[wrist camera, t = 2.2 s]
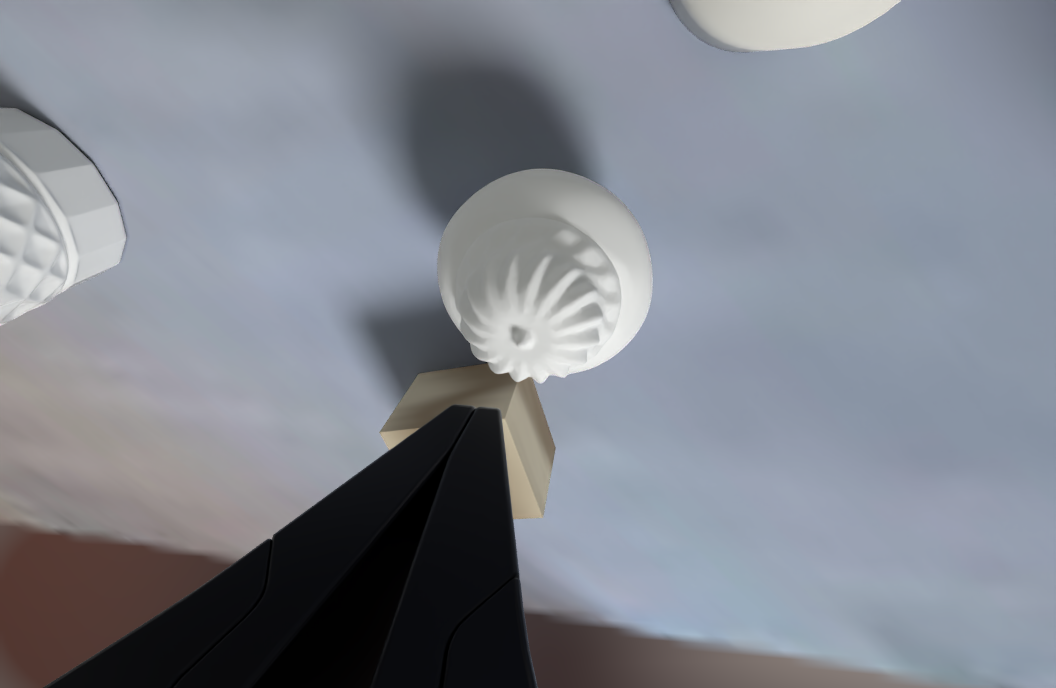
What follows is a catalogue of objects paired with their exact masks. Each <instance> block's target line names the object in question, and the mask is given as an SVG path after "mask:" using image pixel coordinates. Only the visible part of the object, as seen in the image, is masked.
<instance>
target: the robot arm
mask: <svg viewBox="0 0 1056 688" xmlns="http://www.w3.org/2000/svg"><path fill="white" fill-rule="evenodd" d="M43 688H538V687H537V683H536V678H535V674H534V669H533V664H532V660H531V655H530V651H529V643H528V636H527V630H526V623H525V617H524V609H523V601H522V592H521V583H520V580H519V568H518V559H517V549H516V540H515V531H514V522H513V513H512V504H511V495H510V486H509V477H508V468H507V459H506V450H505V441H504V432H503V423H502V414H501V410H500V409H498V408H491V407H478V408H476V407H474V406H471V405H461V404H453V405H451V406H449V407H448V408H447V409H445V410H444V411H442V412H441V413H440V414H438V415H437V416H436V417H434V418H433V419H432V420H430V421H429V422H427V423H426V424H425V425H423V426H422V427H421V428H419V429H418V430H416V431H415V432H414V433H412V434H411V435H410V436H408V437H407V438H405V439H404V440H403V441H401V442H400V443H399V444H397V445H396V446H395V447H393V448H392V449H390V450H389V451H388V452H386V453H385V454H384V455H382V456H381V457H379V458H378V459H377V460H375V461H374V462H373V463H371V464H370V465H368V466H367V467H366V468H364V469H363V470H362V471H360V472H359V473H358V474H356V475H355V476H353V477H352V478H351V479H349V480H348V481H347V482H345V483H344V484H342V485H341V486H340V487H338V488H337V489H336V490H334V491H333V492H331V493H330V494H329V495H327V496H326V497H325V498H323V499H322V500H321V501H319V502H318V503H316V504H315V505H314V506H312V507H311V508H310V509H308V510H307V511H305V512H304V513H303V514H301V515H300V516H299V517H297V518H296V519H294V520H293V521H292V522H290V523H289V524H288V525H286V526H285V527H284V528H282V529H281V530H279V531H278V532H277V533H275V534H274V535H273V538H272V539H267V540H265V541H264V542H263V543H261V544H260V545H259V546H257V547H256V548H254V549H253V550H252V551H250V552H249V553H248V554H246V555H245V556H243V557H242V558H241V559H239V560H238V561H236V562H235V563H234V564H232V565H231V566H229V567H228V568H227V569H225V570H224V571H222V572H221V573H219V574H218V575H217V576H215V577H214V578H212V579H211V580H209V581H208V582H206V583H205V584H204V585H202V586H201V587H199V588H198V589H196V590H195V591H193V592H192V593H190V594H189V595H187V596H186V597H184V598H183V599H181V600H180V601H178V602H176V603H175V604H173V605H172V606H170V607H169V608H167V609H166V610H164V611H163V612H161V613H160V614H158V615H157V616H155V617H154V618H152V619H150V620H149V621H147V622H146V623H144V624H143V625H141V626H140V627H138V628H136V629H135V630H133V631H132V632H130V633H129V634H127V635H125V636H124V637H122V638H121V639H119V640H117V641H116V642H114V643H113V644H111V645H110V646H108V647H106V648H105V649H103V650H102V651H100V652H98V653H97V654H95V655H94V656H92V657H91V658H89V659H88V660H86V661H84V662H83V663H81V664H80V665H78V666H76V667H75V668H73V669H72V670H70V671H68V672H67V673H66V674H64V675H62V676H61V677H59V678H57V679H56V680H54V681H53V682H51V683H50V684H48V685H46V686H45V687H43Z"/></svg>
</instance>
